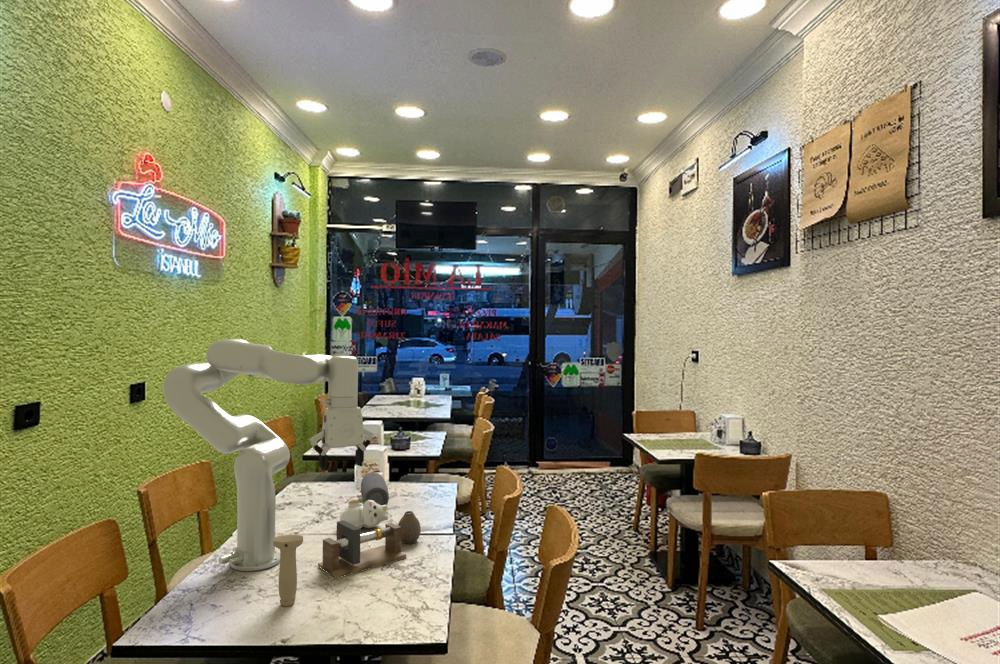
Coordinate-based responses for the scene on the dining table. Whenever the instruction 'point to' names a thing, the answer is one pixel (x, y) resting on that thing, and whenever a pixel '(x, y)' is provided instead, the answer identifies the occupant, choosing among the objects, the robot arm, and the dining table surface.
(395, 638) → the dining table surface
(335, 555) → the stand
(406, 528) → the vase
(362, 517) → the cat figurine
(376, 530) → the pipe
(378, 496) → the bluetooth speaker
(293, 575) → the handle
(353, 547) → the collar
